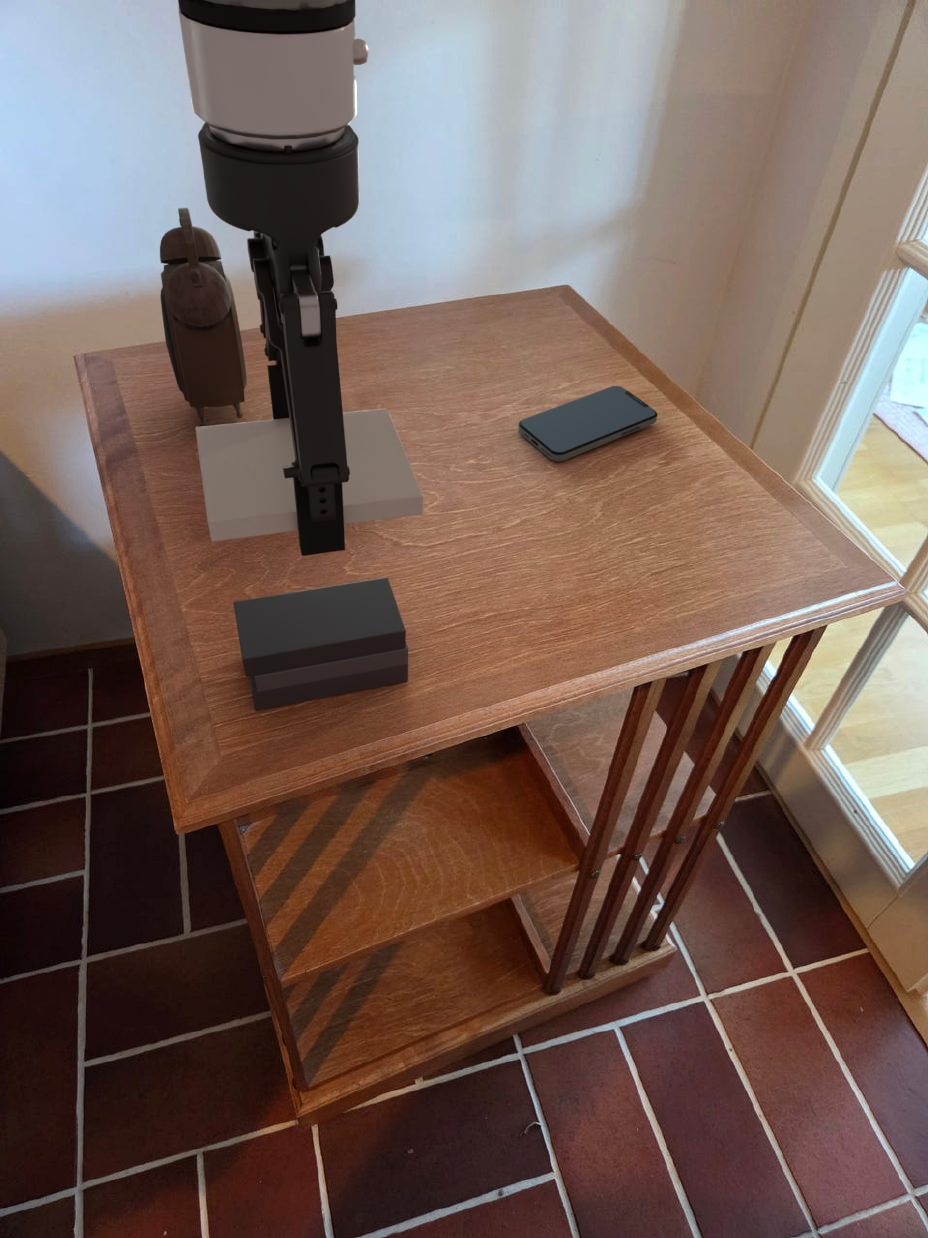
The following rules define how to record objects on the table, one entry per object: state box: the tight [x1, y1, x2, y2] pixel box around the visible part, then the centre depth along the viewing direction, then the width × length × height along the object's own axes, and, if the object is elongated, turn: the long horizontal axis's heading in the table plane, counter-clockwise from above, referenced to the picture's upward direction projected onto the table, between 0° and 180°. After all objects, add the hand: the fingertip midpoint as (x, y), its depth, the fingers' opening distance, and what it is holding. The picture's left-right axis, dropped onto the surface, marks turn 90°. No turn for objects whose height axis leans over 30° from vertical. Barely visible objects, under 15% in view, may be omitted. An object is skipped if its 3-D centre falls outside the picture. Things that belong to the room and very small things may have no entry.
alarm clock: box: [159, 207, 248, 427], centre depth 84 cm, size 14×7×20 cm, turn 17°
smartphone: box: [517, 385, 659, 462], centre depth 92 cm, size 8×2×15 cm
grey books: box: [233, 576, 409, 712], centre depth 65 cm, size 12×6×6 cm, turn 107°
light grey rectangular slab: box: [194, 408, 424, 542], centre depth 54 cm, size 13×10×2 cm
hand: (308, 496), depth 55 cm, fingers closed on light grey rectangular slab, 10 cm apart
